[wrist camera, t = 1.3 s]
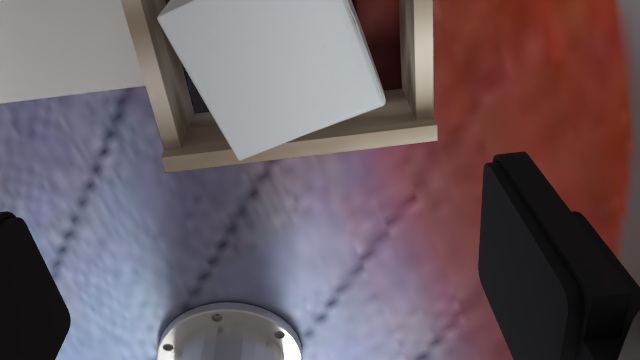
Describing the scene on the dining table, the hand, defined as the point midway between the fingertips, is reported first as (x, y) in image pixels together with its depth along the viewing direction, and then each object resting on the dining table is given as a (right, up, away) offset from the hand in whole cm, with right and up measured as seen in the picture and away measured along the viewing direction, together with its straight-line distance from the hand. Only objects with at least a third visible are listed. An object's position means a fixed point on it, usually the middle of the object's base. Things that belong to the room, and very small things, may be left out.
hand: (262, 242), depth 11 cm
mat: (-16, +12, +21) cm, 29 cm away
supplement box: (-1, +13, +22) cm, 25 cm away
